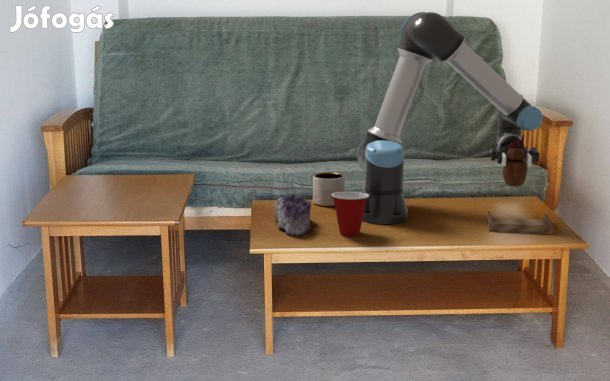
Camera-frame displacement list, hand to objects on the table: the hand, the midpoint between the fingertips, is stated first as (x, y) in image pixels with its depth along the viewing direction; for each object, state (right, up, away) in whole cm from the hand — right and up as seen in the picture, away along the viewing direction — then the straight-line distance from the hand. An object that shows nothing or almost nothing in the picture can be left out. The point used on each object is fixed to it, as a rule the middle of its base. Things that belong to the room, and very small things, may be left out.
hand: (517, 161), depth 198 cm
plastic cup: (-47, -21, +5) cm, 52 cm away
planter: (-52, -13, +39) cm, 66 cm away
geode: (-63, -19, +12) cm, 67 cm away
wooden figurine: (+1, -7, +7) cm, 10 cm away
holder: (+3, -19, +10) cm, 22 cm away
